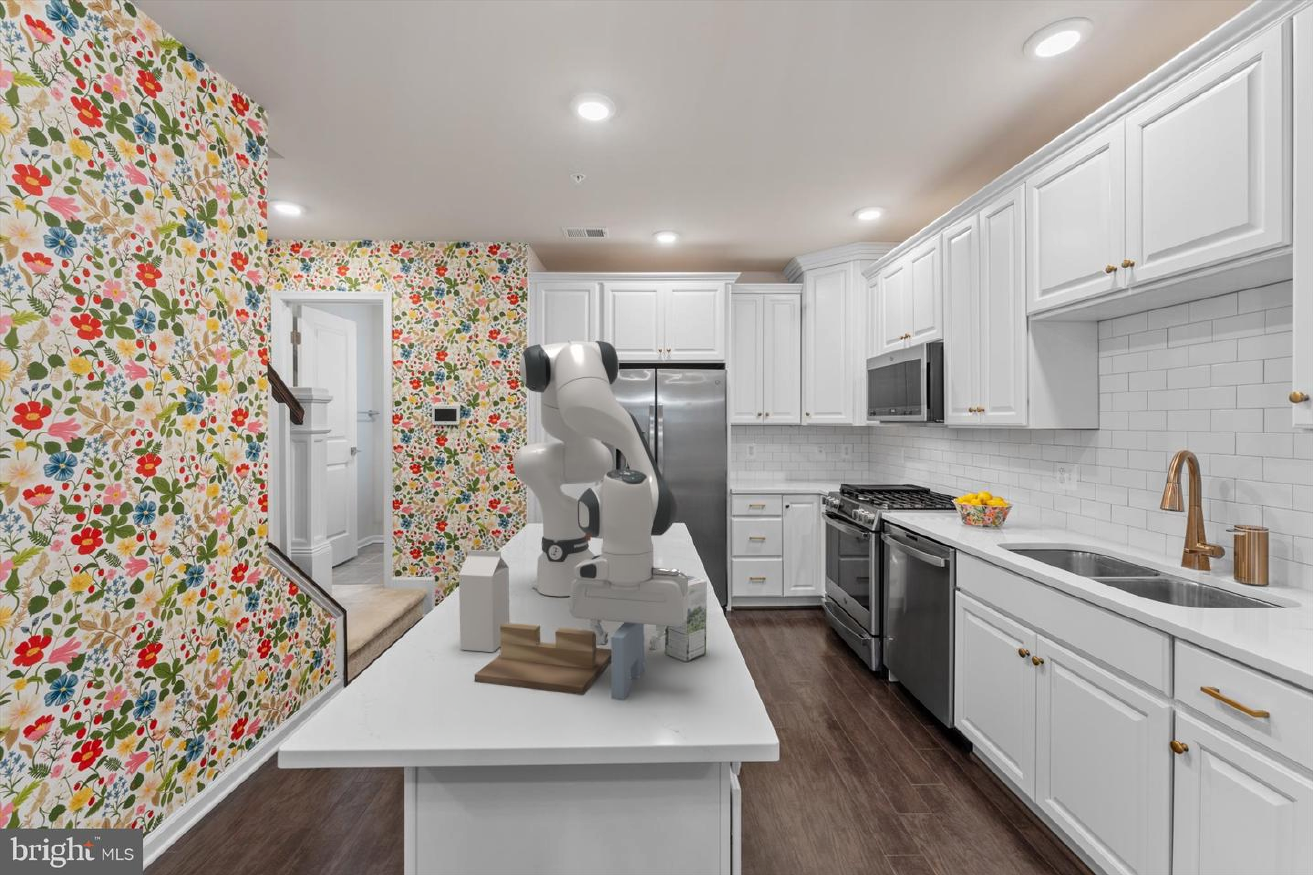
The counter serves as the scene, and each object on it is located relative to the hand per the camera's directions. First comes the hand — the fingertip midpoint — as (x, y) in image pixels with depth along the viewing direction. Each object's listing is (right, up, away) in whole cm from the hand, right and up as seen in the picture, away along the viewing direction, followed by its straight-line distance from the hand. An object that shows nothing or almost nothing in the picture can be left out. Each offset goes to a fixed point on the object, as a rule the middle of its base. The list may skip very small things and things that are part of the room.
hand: (628, 646), depth 99 cm
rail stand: (-15, -6, +6) cm, 17 cm away
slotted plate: (0, -6, 0) cm, 6 cm away
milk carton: (-30, -6, +17) cm, 35 cm away
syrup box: (+10, -6, +12) cm, 17 cm away
